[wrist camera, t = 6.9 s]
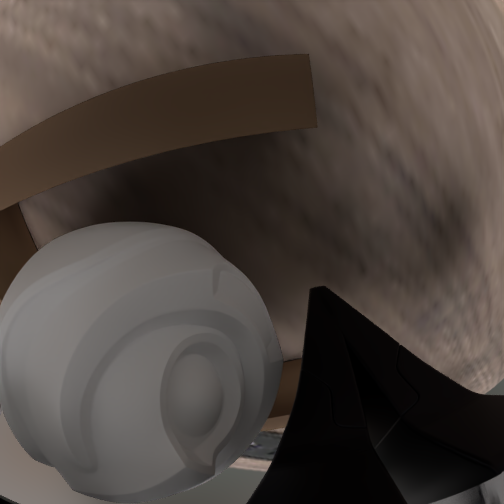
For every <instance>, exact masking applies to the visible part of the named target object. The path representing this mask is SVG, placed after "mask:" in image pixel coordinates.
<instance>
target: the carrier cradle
mask: <svg viewBox="0 0 504 504" xmlns="http://www.w3.org/2000/svg"><path fill="white" fill-rule="evenodd" d="M306 128H317V117H316V108H315V99H314V90H313V82H312V74H311V67H310V60H309V54H293V55H275V56H263V57H253V58H245V59H237V60H230V61H223V62H217V63H212V64H206V65H201V66H196V67H191V68H187V69H183V70H178V71H174V72H170V73H166V74H163V75H159V76H155V77H152V78H148V79H145V80H142V81H138V82H135V83H132V84H129V85H126V86H123V87H120V88H118V89H115V90H112V91H109V92H107V93H104V94H101V95H99V96H96V97H94V98H91V99H89V100H87V101H84V102H82V103H80V104H77V105H75V106H73V107H71V108H69V109H67V110H64V111H62V112H60V113H58V114H56V115H54V116H52V117H50V118H48V119H46V120H45V121H43V122H41V123H39V124H37V125H35V126H34V127H32V128H30V129H28V130H27V131H25V132H23V133H21V134H20V135H18V136H16V137H15V138H13V139H12V140H10V141H9V142H7V143H5V144H4V145H2V146H1V147H0V305H1V303H2V300H3V298H4V296H5V294H6V292H7V290H8V288H9V287H10V285H11V283H12V282H13V280H14V279H15V277H16V276H17V274H18V273H19V271H20V270H21V269H22V268H23V266H24V265H25V264H26V263H27V262H28V260H29V259H30V258H31V257H32V256H33V255H34V254H35V253H36V252H37V249H36V247H35V245H34V242H33V240H32V238H31V236H30V233H29V231H28V229H27V226H26V224H25V222H24V219H23V217H22V214H21V211H20V209H19V206H18V202H20V201H22V200H24V199H27V198H29V197H31V196H33V195H36V194H38V193H41V192H43V191H45V190H48V189H50V188H53V187H55V186H58V185H60V184H63V183H66V182H68V181H71V180H74V179H77V178H79V177H82V176H85V175H88V174H91V173H94V172H97V171H100V170H103V169H106V168H109V167H112V166H116V165H119V164H122V163H126V162H129V161H133V160H136V159H140V158H143V157H147V156H151V155H155V154H159V153H163V152H167V151H171V150H175V149H180V148H184V147H189V146H193V145H198V144H203V143H208V142H213V141H218V140H224V139H230V138H236V137H242V136H248V135H255V134H262V133H269V132H278V131H286V130H296V129H306ZM301 362H302V359H298V360H293V361H288V362H283V368H282V374H281V379H280V384H279V389H278V392H277V396H276V399H275V402H274V405H273V407H272V410H271V412H270V414H269V416H268V418H267V420H266V422H265V424H264V426H263V427H262V429H261V431H267V430H273V429H279V428H285V427H286V425H287V422H288V419H289V416H290V413H291V410H292V407H293V404H294V400H295V397H296V392H297V387H298V382H299V375H300V371H301ZM1 411H2V408H1V405H0V414H1Z"/></svg>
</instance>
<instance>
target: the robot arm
mask: <svg viewBox="0 0 504 504" xmlns="http://www.w3.org/2000/svg"><path fill="white" fill-rule="evenodd" d="M399 345H400V344H399V343H398V342H397V341H396V340H394V339H393V338H392V337H391V336H389V335H388V334H387V333H385V332H384V331H383V330H382V329H380V328H379V327H378V326H376V325H375V324H374V323H373V322H371V321H370V320H369V319H367V318H366V317H365V316H364V315H362V314H361V313H360V312H358V311H357V310H356V309H354V308H353V307H352V306H351V305H349V304H348V303H347V302H345V301H344V300H343V299H341V298H340V297H339V296H337V295H336V294H335V293H334V292H332V291H331V290H330V289H328V288H327V287H326V286H319V287H314V288H311V289H310V292H309V302H308V312H307V321H306V330H305V338H304V346H303V354H302V362H301V371H300V375H299V382H298V387H297V392H296V397H295V400H294V404H293V407H292V410H291V413H290V416H289V419H288V422H287V425H286V427H285V430H284V433H283V435H282V438H281V441H280V443H279V446H278V449H277V451H276V454H275V456H274V458H273V460H272V463H271V465H270V467H269V468H268V470H267V472H266V474H265V476H264V477H263V479H262V480H261V482H260V484H259V485H258V487H257V488H256V490H255V491H254V493H253V494H252V496H251V498H250V499H249V500H248V502H247V503H246V504H504V395H483V394H479V393H475V392H473V391H470V390H468V389H466V388H465V387H463V386H461V385H460V384H458V383H456V382H455V381H453V380H452V379H450V378H448V377H447V376H445V375H444V374H442V373H440V372H439V371H437V370H436V369H434V368H433V367H431V366H429V365H428V364H426V363H425V362H423V361H422V360H421V359H419V358H418V357H417V356H415V355H414V354H413V353H411V352H410V351H409V350H407V349H406V348H405V347H403V346H402V345H400V346H399ZM0 504H19V503H17V502H14V501H12V500H10V499H8V498H6V497H4V496H2V495H0Z"/></svg>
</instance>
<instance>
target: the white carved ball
mask: <svg viewBox="0 0 504 504" xmlns="http://www.w3.org/2000/svg"><path fill="white" fill-rule="evenodd" d="M282 368H283V356H282V352H281V348H280V345H279V342H278V339H277V336H276V333H275V330H274V327H273V324H272V321H271V319H270V316H269V313H268V311H267V308H266V306H265V304H264V302H263V300H262V298H261V296H260V294H259V293H258V291H257V290H256V288H255V287H254V285H253V284H252V283H251V281H250V280H249V279H248V278H247V277H246V276H245V275H244V274H243V273H242V272H241V271H240V270H239V269H238V268H237V267H235V266H234V265H233V264H232V263H230V262H229V261H227V260H226V259H224V258H223V257H222V255H221V254H220V253H219V252H218V251H217V250H216V249H215V248H214V247H212V246H211V245H210V244H209V243H208V242H206V241H205V240H204V239H202V238H201V237H199V236H197V235H195V234H194V233H192V232H189V231H187V230H184V229H181V228H177V227H173V226H169V225H163V224H157V223H149V222H111V223H102V224H96V225H91V226H87V227H84V228H80V229H77V230H74V231H71V232H69V233H66V234H64V235H62V236H60V237H58V238H56V239H54V240H52V241H50V242H49V243H47V244H46V245H45V246H43V247H42V248H41V249H40V250H39V251H37V252H36V253H35V254H34V255H33V256H32V257H31V258H30V259H29V260H28V262H27V263H26V264H25V265H24V266H23V268H22V269H21V270H20V271H19V273H18V274H17V276H16V277H15V279H14V280H13V282H12V283H11V285H10V287H9V288H8V290H7V292H6V294H5V296H4V298H3V300H2V303H1V305H0V405H1V408H2V411H3V413H4V416H5V418H6V420H7V422H8V425H9V427H10V428H11V430H12V432H13V434H14V435H15V437H16V439H17V440H18V442H19V443H20V444H21V446H22V447H23V448H24V450H25V451H26V452H27V453H28V454H29V455H30V456H31V457H32V458H33V459H34V460H36V461H38V462H41V463H43V464H46V465H48V466H51V467H55V468H56V469H57V470H58V472H59V473H60V474H61V475H62V477H63V478H64V479H65V480H66V482H67V483H68V484H69V486H70V487H71V488H72V490H74V491H76V492H78V493H81V494H84V495H87V496H90V497H93V498H97V499H101V500H105V501H110V502H116V503H140V502H147V501H152V500H157V499H161V498H165V497H168V496H171V495H174V494H177V493H180V492H184V491H187V490H190V489H192V488H195V487H197V486H199V485H202V484H204V483H205V482H207V481H209V480H211V479H212V478H214V477H216V476H217V475H219V474H220V473H221V472H223V471H224V470H225V469H227V468H228V467H229V466H230V465H231V464H232V463H234V462H235V461H236V460H237V459H238V458H239V457H240V456H241V455H242V454H243V453H244V452H245V450H246V449H247V448H248V447H249V446H250V444H251V443H252V442H253V441H254V439H255V438H256V437H257V435H258V434H259V432H260V431H261V429H262V427H263V426H264V424H265V422H266V420H267V418H268V416H269V414H270V412H271V410H272V407H273V405H274V402H275V399H276V396H277V392H278V389H279V384H280V379H281V374H282Z"/></svg>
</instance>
